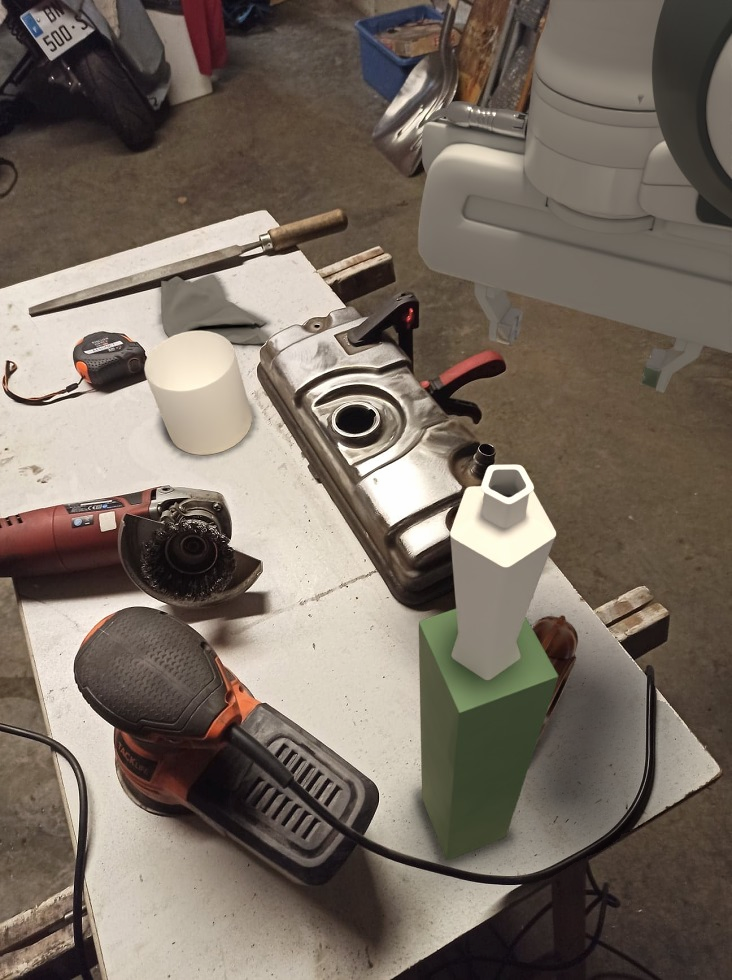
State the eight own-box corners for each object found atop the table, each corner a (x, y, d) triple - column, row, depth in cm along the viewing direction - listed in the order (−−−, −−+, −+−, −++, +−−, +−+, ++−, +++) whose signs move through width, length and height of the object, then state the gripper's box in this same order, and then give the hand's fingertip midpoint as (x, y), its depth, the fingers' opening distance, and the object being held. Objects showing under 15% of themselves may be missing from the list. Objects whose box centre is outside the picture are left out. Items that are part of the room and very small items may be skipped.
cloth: (132, 296, 124) (128, 285, 122) (204, 264, 128) (201, 252, 127) (205, 379, 110) (202, 367, 108) (283, 339, 114) (281, 327, 113)
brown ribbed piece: (523, 771, 72) (542, 711, 60) (479, 745, 74) (488, 682, 62) (569, 681, 77) (594, 610, 65) (527, 659, 79) (544, 586, 67)
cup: (172, 400, 108) (147, 335, 98) (251, 390, 108) (235, 325, 98) (166, 460, 100) (140, 396, 91) (252, 450, 100) (234, 385, 91)
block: (506, 836, 68) (559, 676, 41) (446, 861, 67) (459, 713, 40) (479, 774, 72) (510, 588, 45) (421, 796, 71) (418, 621, 44)
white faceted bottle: (517, 696, 40) (553, 540, 29) (439, 672, 42) (444, 513, 30) (535, 624, 43) (575, 454, 31) (462, 603, 44) (474, 432, 32)
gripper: (393, 122, 36) (401, 342, 47) (852, 214, 29) (737, 449, 40) (449, 70, 39) (445, 286, 50) (874, 141, 32) (762, 376, 43)
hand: (576, 359), depth 45 cm, fingers open, 8 cm apart
